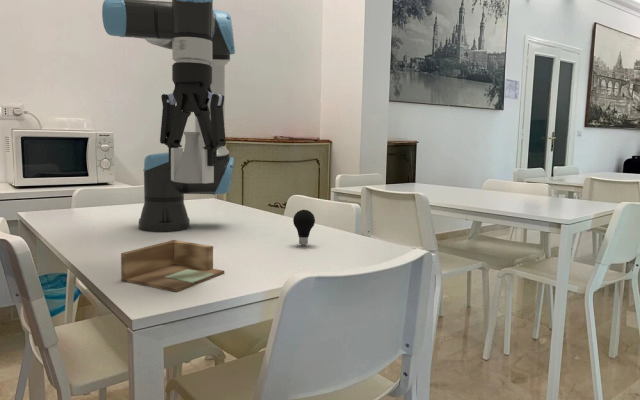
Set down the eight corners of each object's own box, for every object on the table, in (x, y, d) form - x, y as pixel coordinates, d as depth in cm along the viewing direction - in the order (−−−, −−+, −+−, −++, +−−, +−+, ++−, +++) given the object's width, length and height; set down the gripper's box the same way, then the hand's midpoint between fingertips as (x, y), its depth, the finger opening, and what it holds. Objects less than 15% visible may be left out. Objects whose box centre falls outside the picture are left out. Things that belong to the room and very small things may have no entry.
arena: (121, 280, 100) (121, 253, 99) (173, 264, 114) (173, 239, 113) (176, 292, 94) (176, 263, 94) (224, 273, 108) (224, 247, 107)
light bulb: (298, 249, 133) (299, 211, 131) (289, 244, 138) (290, 208, 136) (317, 247, 135) (319, 211, 134) (308, 243, 140) (309, 207, 139)
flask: (166, 183, 97) (166, 131, 96) (184, 180, 104) (183, 131, 103) (201, 185, 96) (201, 132, 95) (216, 181, 103) (216, 132, 102)
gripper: (139, 62, 98) (140, 179, 101) (223, 58, 90) (221, 186, 93) (166, 67, 105) (166, 177, 108) (246, 64, 96) (244, 183, 99)
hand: (192, 181), depth 100 cm, fingers closed on flask, 7 cm apart
